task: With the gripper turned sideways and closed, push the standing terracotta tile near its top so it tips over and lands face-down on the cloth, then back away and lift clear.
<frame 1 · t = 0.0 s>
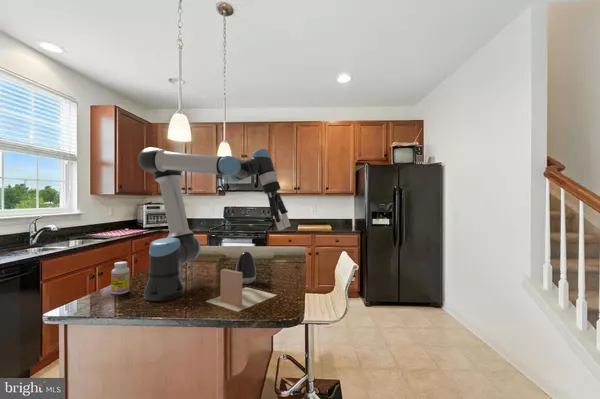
hand: (284, 228, 124), 28 cm above the countertop, tool tilted 20°, fingers open, 13 cm apart
tile: (231, 302, 108), point 1 cm above the countertop, touching cloth
cloth: (242, 300, 113), on the countertop
supplement bottle: (120, 292, 121), on the countertop
juicer: (178, 276, 149), on the countertop
black glossy egg shape: (245, 283, 137), on the countertop
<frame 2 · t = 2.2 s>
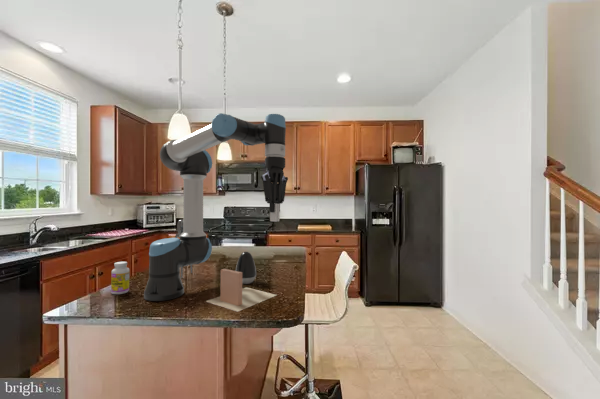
hand: (274, 221, 103), 32 cm above the countertop, tool pointing down, fingers closed
tile: (231, 302, 108), point 1 cm above the countertop
everything else where it was.
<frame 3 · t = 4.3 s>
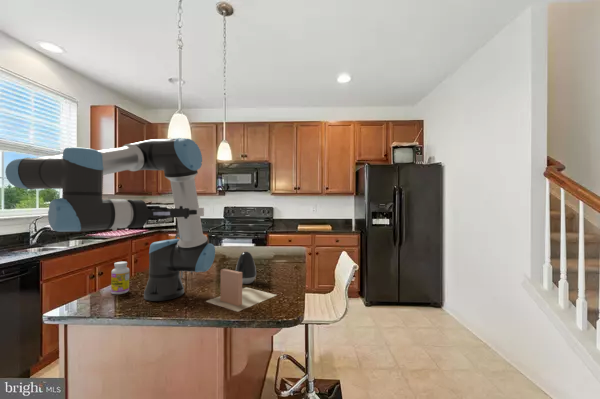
hand: (202, 211, 94), 36 cm above the countertop, tool horizontal, fingers closed
tile: (231, 302, 108), point 1 cm above the countertop, touching cloth
everything else where it was.
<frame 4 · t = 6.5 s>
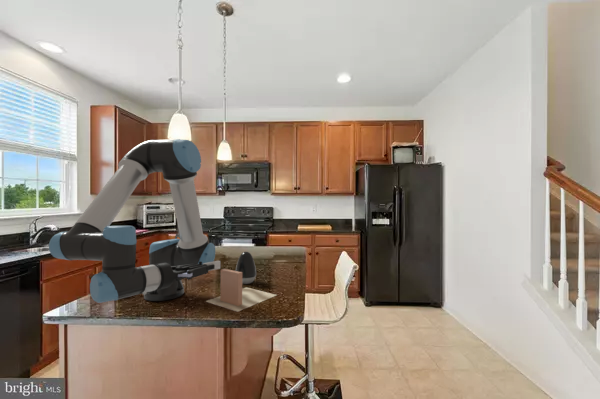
hand: (219, 264, 102), 17 cm above the countertop, tool horizontal, fingers closed
nothing on the countertop moved.
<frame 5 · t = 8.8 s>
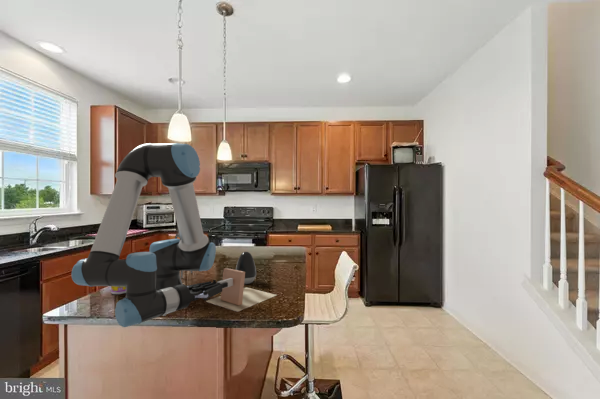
hand: (231, 281, 107), 9 cm above the countertop, tool horizontal, fingers closed
tile: (231, 301, 108), point 1 cm above the countertop, tilted 7°, touching cloth
everything else where it was.
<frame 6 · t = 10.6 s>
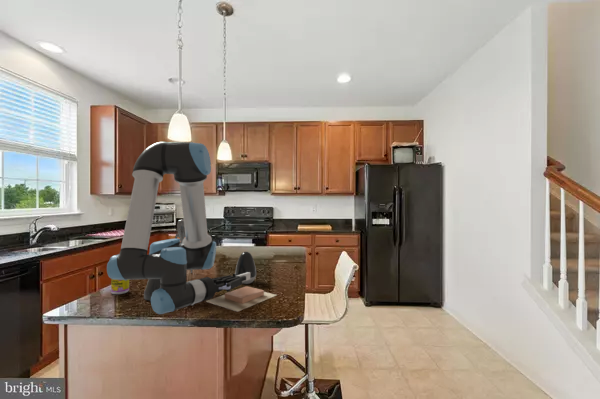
hand: (249, 275, 116), 9 cm above the countertop, tool horizontal, fingers closed
tile: (233, 298, 109), point 2 cm above the countertop, tilted 90°, touching cloth
everything else where it was.
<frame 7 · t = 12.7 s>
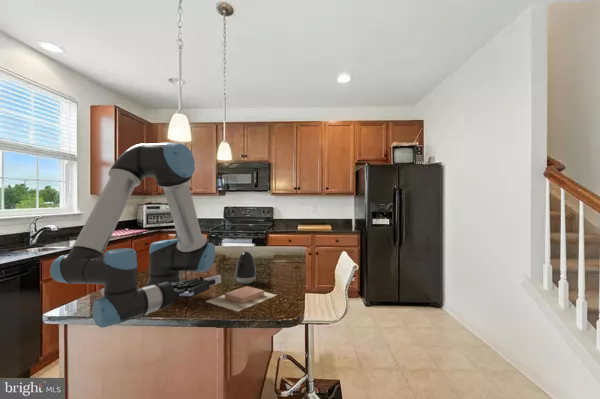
hand: (219, 278, 103), 11 cm above the countertop, tool horizontal, fingers closed
nothing on the countertop moved.
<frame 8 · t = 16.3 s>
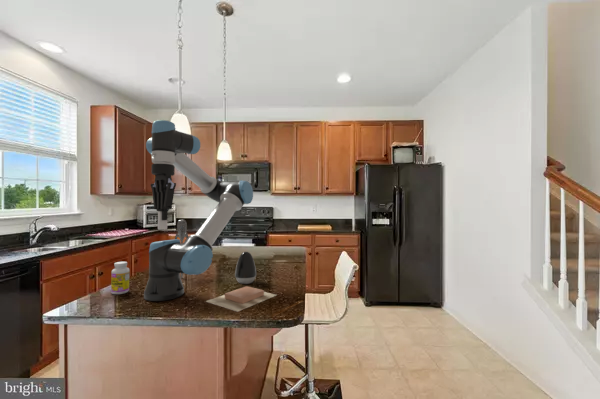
hand: (162, 229, 101), 29 cm above the countertop, tool pointing down, fingers closed
nothing on the countertop moved.
at the end: tile tilted 90°; tile touching cloth; tile inside the target area (3.9 cm from its centre), point 1.9 cm above the countertop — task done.
